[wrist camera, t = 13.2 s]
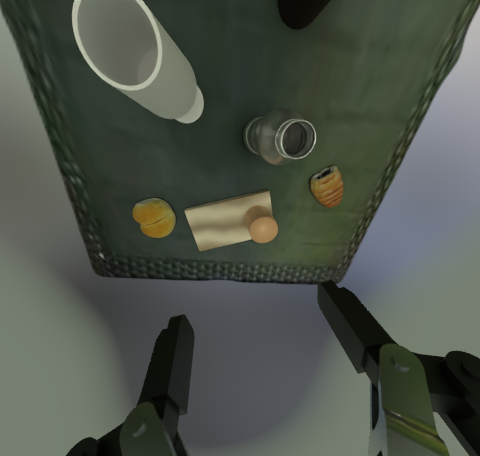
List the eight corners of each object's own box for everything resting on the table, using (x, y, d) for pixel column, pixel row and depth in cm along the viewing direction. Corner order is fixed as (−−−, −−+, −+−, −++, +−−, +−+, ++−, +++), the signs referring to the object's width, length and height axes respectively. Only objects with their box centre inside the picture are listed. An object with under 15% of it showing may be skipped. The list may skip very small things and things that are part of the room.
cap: (242, 208, 41) (247, 221, 35) (268, 202, 41) (276, 214, 35) (247, 230, 43) (252, 245, 38) (271, 225, 43) (279, 239, 38)
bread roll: (149, 237, 43) (143, 246, 40) (130, 203, 39) (121, 210, 36) (183, 228, 43) (180, 236, 40) (167, 193, 39) (162, 199, 35)
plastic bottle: (267, 158, 38) (311, 181, 20) (236, 147, 36) (255, 161, 18) (280, 124, 35) (344, 117, 17) (247, 110, 33) (282, 87, 16)
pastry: (344, 196, 44) (354, 201, 41) (318, 210, 45) (326, 217, 42) (332, 162, 40) (342, 165, 36) (304, 179, 41) (312, 183, 38)
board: (185, 208, 41) (184, 211, 39) (267, 189, 41) (269, 191, 39) (200, 247, 46) (199, 251, 45) (273, 230, 46) (274, 233, 45)
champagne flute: (157, 106, 32) (37, 55, 10) (174, 66, 29) (68, -101, 8) (192, 131, 34) (152, 131, 13) (211, 96, 32) (199, 25, 11)
